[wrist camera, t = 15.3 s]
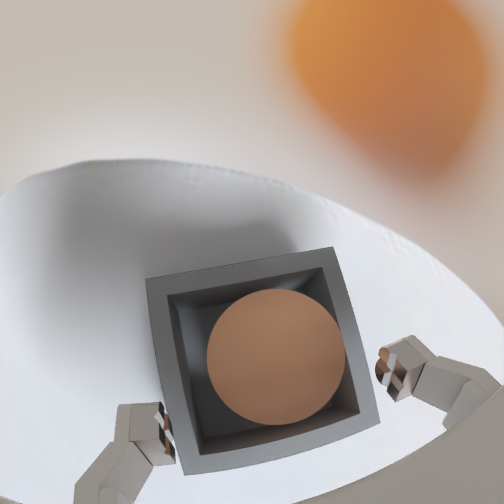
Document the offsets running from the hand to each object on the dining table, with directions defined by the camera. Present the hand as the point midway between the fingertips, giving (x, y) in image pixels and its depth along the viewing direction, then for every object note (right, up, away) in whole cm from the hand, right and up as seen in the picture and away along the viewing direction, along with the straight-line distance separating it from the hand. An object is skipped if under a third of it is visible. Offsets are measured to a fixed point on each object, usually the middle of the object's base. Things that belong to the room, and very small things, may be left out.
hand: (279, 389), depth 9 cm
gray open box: (-1, -2, +8) cm, 9 cm away
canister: (-1, -2, +7) cm, 8 cm away
